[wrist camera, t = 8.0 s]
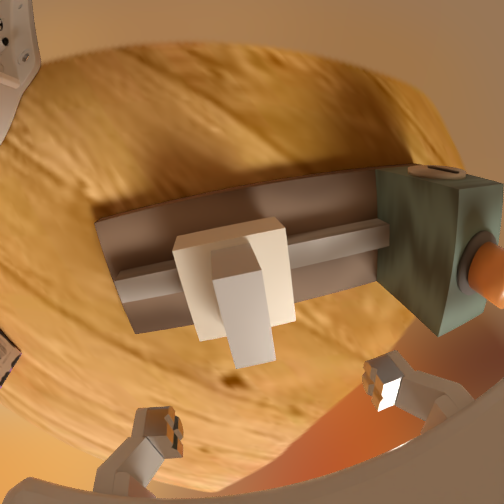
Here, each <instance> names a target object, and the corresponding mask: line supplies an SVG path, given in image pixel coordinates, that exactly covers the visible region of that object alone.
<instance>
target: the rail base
mask: <svg viewBox="0 0 504 504" xmlns="http://www.w3.org/2000/svg"><path fill="white" fill-rule="evenodd" d="M503 186H504V185H503V184H502V183H499V182H495V181H492V180H488V179H484V178H480V177H476V176H472V175H468V174H466V171H464V170H462V169H458V168H453V167H447V166H436V165H420V164H400V165H389V166H378V167H368V168H358V169H349V170H341V171H333V172H325V173H318V174H311V175H304V176H297V177H290V178H284V179H278V180H272V181H266V182H260V183H254V184H249V185H243V186H238V187H233V188H227V189H222V190H217V191H212V192H208V193H203V194H198V195H193V196H189V197H184V198H180V199H175V200H171V201H167V202H163V203H158V204H154V205H150V206H146V207H142V208H138V209H134V210H130V211H127V212H123V213H119V214H115V215H112V216H108V217H105V218H101V219H99V220H98V221H97V222H95V223H94V224H95V228H96V231H97V234H98V238H99V241H100V244H101V247H102V250H103V253H104V256H105V259H106V262H107V265H108V268H109V271H110V273H111V276H112V279H113V282H114V284H115V287H116V289H117V292H118V295H119V297H120V300H121V302H122V305H123V307H124V309H125V312H126V314H127V317H128V319H129V321H130V323H131V326H132V328H133V330H134V332H135V334H139V333H146V332H152V331H158V330H165V329H170V328H176V327H182V326H188V325H193V324H194V322H193V319H192V316H191V313H190V310H189V307H188V303H187V300H186V297H185V294H184V290H183V287H182V284H181V280H180V277H179V273H178V270H177V267H176V263H175V259H174V256H173V252H172V250H173V247H174V244H175V241H176V238H177V236H180V235H185V234H190V233H194V232H199V231H204V230H208V229H213V228H218V227H223V226H228V225H233V224H238V223H243V222H248V221H253V220H258V219H263V218H268V217H274V216H275V218H276V219H277V220H278V221H279V222H280V223H281V224H282V225H283V226H284V227H285V229H286V237H287V245H288V253H289V262H290V270H291V279H292V288H293V298H294V303H296V302H300V301H304V300H308V299H312V298H316V297H320V296H324V295H328V294H332V293H335V292H339V291H343V290H347V289H350V288H354V287H357V286H361V285H364V284H368V283H371V282H375V281H377V282H378V283H380V284H381V285H382V286H383V287H384V288H385V289H386V290H387V291H389V292H390V293H391V294H392V295H393V296H394V297H395V298H396V299H398V300H399V301H400V302H401V303H402V304H403V305H404V306H405V307H406V308H407V309H408V310H410V311H411V312H412V313H413V314H414V315H415V316H416V317H417V318H418V319H419V320H420V321H421V322H422V323H424V324H425V325H426V326H427V327H428V328H429V329H430V330H431V331H432V332H433V333H434V334H435V335H436V336H437V337H439V336H441V335H443V334H445V333H447V332H449V331H451V330H453V329H455V328H456V327H458V326H460V325H462V324H464V323H466V322H467V321H469V320H471V319H472V318H474V317H476V316H478V315H480V314H481V313H483V311H484V307H485V303H486V300H487V299H486V298H484V297H483V296H481V295H480V294H479V293H477V292H476V291H474V290H473V289H471V288H470V286H469V283H468V274H469V269H470V265H471V263H472V260H473V258H474V256H475V254H476V252H477V251H478V249H479V248H480V247H481V246H482V245H483V244H484V243H486V242H492V243H494V244H496V245H498V242H499V235H500V226H501V217H502V205H503Z"/></svg>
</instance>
